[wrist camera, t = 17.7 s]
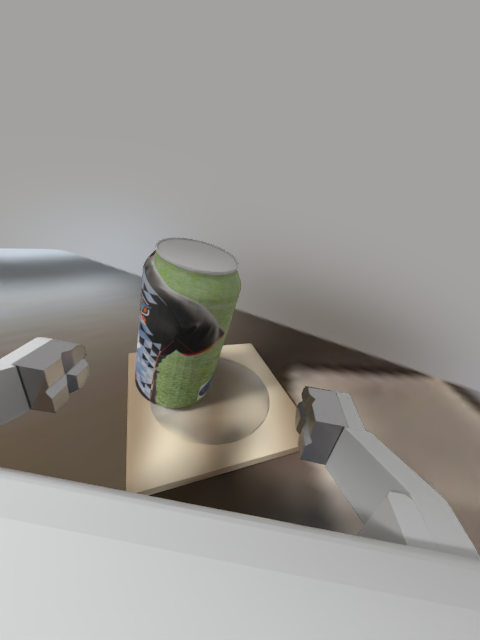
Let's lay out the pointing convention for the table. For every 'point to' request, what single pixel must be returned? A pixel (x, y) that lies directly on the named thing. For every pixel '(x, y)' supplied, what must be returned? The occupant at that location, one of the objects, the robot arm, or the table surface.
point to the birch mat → (209, 426)
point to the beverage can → (183, 319)
